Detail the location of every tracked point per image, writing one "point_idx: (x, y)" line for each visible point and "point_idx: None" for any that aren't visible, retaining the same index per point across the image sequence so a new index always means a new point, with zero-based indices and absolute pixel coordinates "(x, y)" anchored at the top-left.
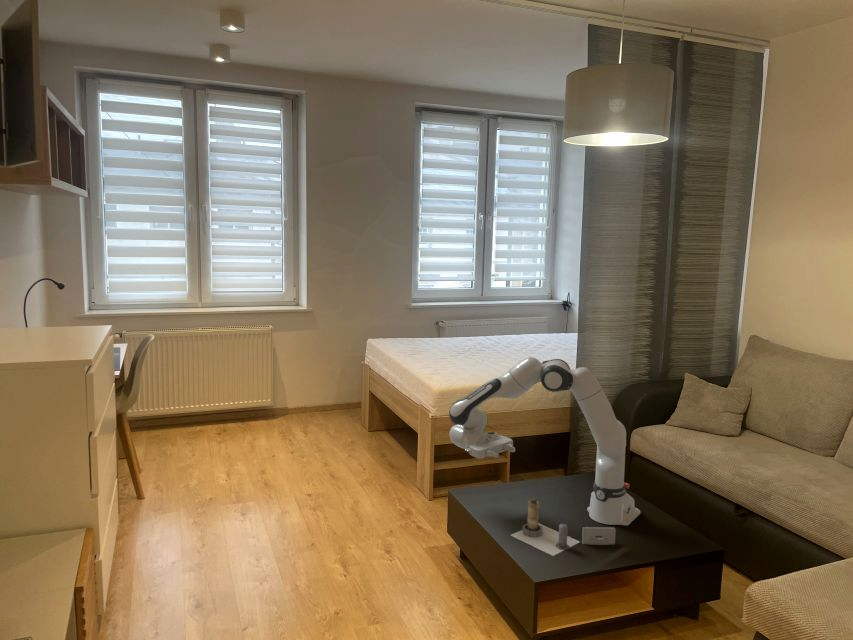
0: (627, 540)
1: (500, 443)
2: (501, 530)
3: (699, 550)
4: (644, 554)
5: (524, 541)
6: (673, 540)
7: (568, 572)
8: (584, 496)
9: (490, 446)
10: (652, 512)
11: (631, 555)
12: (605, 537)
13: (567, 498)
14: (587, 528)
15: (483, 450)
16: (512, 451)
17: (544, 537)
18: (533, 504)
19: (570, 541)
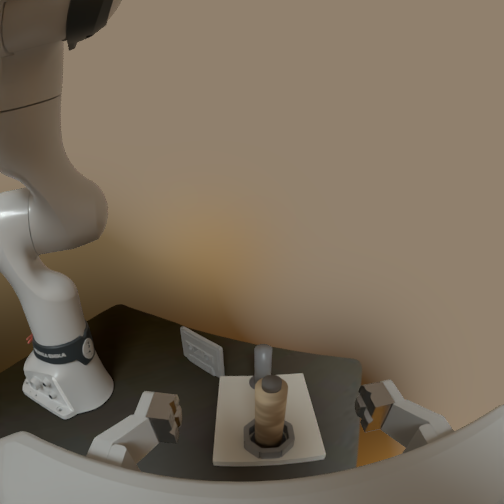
0: (150, 352)
1: (194, 493)
2: None
3: (130, 309)
4: (177, 331)
5: (315, 423)
6: (118, 325)
7: (306, 353)
8: (9, 432)
9: (400, 468)
10: None
11: None
12: (190, 349)
13: None
14: (216, 344)
15: (482, 416)
16: (180, 412)
17: None
18: (282, 379)
19: (233, 384)
